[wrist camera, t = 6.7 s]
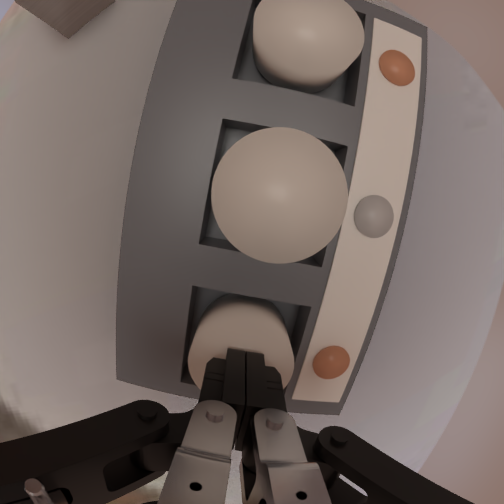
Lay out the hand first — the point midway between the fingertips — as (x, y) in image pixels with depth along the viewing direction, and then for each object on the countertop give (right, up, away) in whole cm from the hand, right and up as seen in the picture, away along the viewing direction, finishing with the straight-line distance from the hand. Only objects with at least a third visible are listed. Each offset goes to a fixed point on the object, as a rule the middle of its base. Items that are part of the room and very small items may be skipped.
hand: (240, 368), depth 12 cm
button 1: (0, +1, +3) cm, 3 cm away
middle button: (+1, +7, 0) cm, 7 cm away
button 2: (+3, +14, 0) cm, 14 cm away
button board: (+1, +8, +3) cm, 8 cm away
